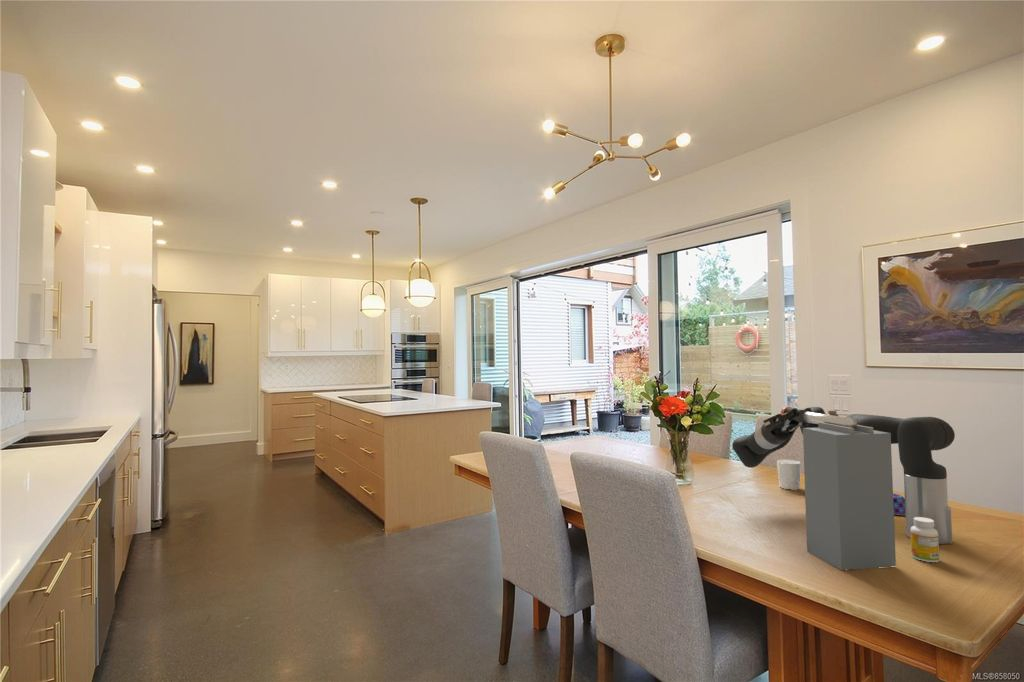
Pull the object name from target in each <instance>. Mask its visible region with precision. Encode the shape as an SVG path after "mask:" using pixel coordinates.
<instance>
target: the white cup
mask: <svg viewBox="0 0 1024 682" xmlns="http://www.w3.org/2000/svg"><path fill="white" fill-rule="evenodd" d="M776 468H777V478H778V486H779V488H780V487H781V488H780V489H782V488H784V489H783V490H786V489H791V490H790V491H798V490H797V489H799V490H800V485H801V484H800V483H801V461H798V460H793V459H778V460H776Z"/></svg>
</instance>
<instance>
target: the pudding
mask: <svg viewBox="0 0 1024 682" xmlns="http://www.w3.org/2000/svg"><path fill="white" fill-rule="evenodd" d="M893 506H894V516H895V515H896V516H902V515H905V496H902V495H900V494H899V493H898V494H897V493H893Z"/></svg>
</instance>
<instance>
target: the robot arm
mask: <svg viewBox="0 0 1024 682" xmlns="http://www.w3.org/2000/svg"><path fill="white" fill-rule="evenodd" d="M792 408H793V409H792V410H791V411H789V412H788V413H784V414H783V415H781V413H778V414H775V415H773V416H770V417H768V418H767V419H764V420H763V421H762V422H763V424H761V425H759V427H758V428H757V429H756V430H755V431H753V432H752V433H751V434H748V435H743V436H738V437H737V438H734V440H733V441H732V450H733V451H734V453H735V454H736V456H737V457H738V459H739V461H740V462H741V463H742V464H743V466H745V467H746V468H749V469H750V468H756V467H758V466H759V465H760V464H761V463H763V461H764V460H765V459H766V458H767V457H768V456H769V455H770V454H772V453H774V452H776V451H778V450H780V449H782V448H784V447H786V446H787V445H788V443H790V441H791V439H792V438H793V436H794V434H795V432H796V431H797V430H798V428H799V429H800V432H801V434H802V435H803V428H818V424H814V423H805V422H800V421H795V420H793V419H794V418H796V417H797V416H799V412H798V410H797V409H798V408H797V407H792ZM802 410H806V411H810V412H814V413H821V414H826V411H825V410H824V409H823V407H820V406H811V407H805V408H803V409H802ZM845 417H846V418H852V419H854V420H856V422H857V425H861V426H867V427H873V430H875V431H881V432H887V433H891V445H898V447H897V448H898V454H899V461H900V463H901V465H902V470H903V484H904V487H903V488H904V491H903V492H904V499H905V514H904V516H905V534H906V536H907V537H908V538H910V539H911V532H910V530H911V527H912V526H915V524H914V518H915V517H923V518H929V519H932V520H933V521H934V527H933V529H935V530H936V531H937V532H938V540H939V545H944V544H950V545H951V544H953V522H952V508H951V507H950V506H949V499H948V498H949V497H948V478H947V477H948V472H947V469H946V467H945V466H944V465H942V464H939V463H937V462H935V461H934V460H933V454H932V451H940V450H943V449H946V448H948V447H949V446H951V445H952V444H953V442H954V440H955V435H956V433H955V431H954V429H953V427H952V426H951V425H950V423H948V422H947V421H945V420H943V419H941V418H939V417H935V416H934V417H933V416H916V417H915V416H913V417H907V418H901V417H900V418H899V417H892V416H885V415H874V414H862V413H858V414H857V413H856V414H855V413H853V414H852V413H851V414H849V415H847V416H845Z"/></svg>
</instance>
